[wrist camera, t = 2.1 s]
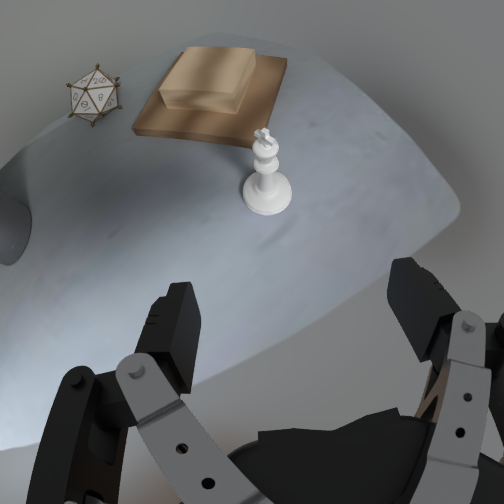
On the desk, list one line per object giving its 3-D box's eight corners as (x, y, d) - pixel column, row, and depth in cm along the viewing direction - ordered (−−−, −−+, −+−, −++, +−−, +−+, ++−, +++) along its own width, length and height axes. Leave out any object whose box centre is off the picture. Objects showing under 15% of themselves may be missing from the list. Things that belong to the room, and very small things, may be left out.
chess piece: (264, 164, 29) (260, 98, 20) (301, 190, 28) (313, 128, 19) (232, 196, 29) (215, 135, 19) (270, 225, 28) (269, 171, 18)
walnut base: (136, 135, 32) (120, 110, 27) (183, 59, 36) (176, 35, 31) (259, 150, 30) (257, 120, 25) (286, 66, 34) (287, 39, 29)
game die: (120, 117, 38) (127, 58, 31) (122, 135, 33) (130, 65, 26) (68, 121, 34) (71, 61, 27) (60, 141, 29) (62, 70, 22)
